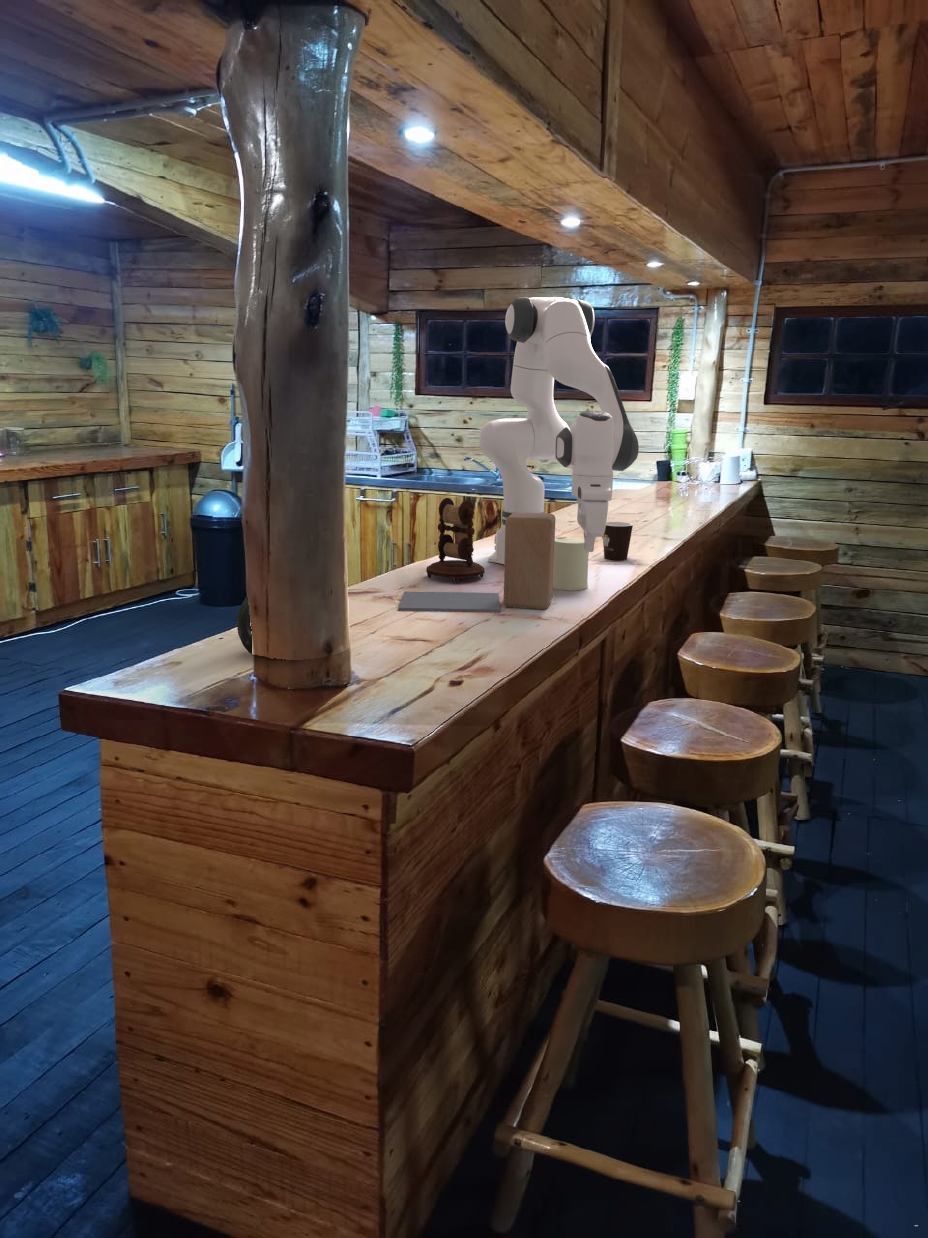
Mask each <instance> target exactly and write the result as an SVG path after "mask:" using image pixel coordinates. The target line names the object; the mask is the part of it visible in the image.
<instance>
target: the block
mask: <svg viewBox="0 0 928 1238" xmlns="http://www.w3.org/2000/svg"><path fill="white" fill-rule="evenodd" d="M555 538H556V516H555V514H553V513H547V512H545V513H522V512H515V513H512V514H511V515H510V516H509V517H508V518H507V519H506V522H505V560H504V564H503V565H504V566H503V567H504V569H503V570H504V571H503V600H502V601H503V605H504V606H505V607H506V608H513V609H514V608H515V609H531V610H546V609H548V608H549V606H550V603H551V601H552V599H553V592H554V591H553V589H554V588H553V570H554V545H555Z"/></svg>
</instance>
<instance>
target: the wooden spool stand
mask: <svg viewBox="0 0 928 1238" xmlns="http://www.w3.org/2000/svg"><path fill="white" fill-rule="evenodd" d="M474 507H475V506H474V504H473V503H472V501H471V500H463V501H462V502H461V503H460V505H455V503H454V501H453V500H452V499H451V498H450V497H445V498H443V499H442V500H441V501H440V502H439V506H438V515H439V523H438V525H437V530H438V532H439V536H438V539H439V541H438V544H437V548H438V549H437V550H438V552H439V553H438V559H439V560H438V561H435V562H432V563H431V564H430V565H427V566H426V571H425V572H426V575H427V577H428V579H430V578H431V577H432V576H433V577H437V578H442V579H454V580H453V581H454V583H455V584H456V585H457V584H458V583H459V580H460V579H469V578H476V577H479V578H481V579H482V578H484V574H485V567H484V566H483V565H481V564H480V563H477V562H476V561H474V559H473V555H474V554H473V552H474V550H475V548H474V541H473V540H474V538H473V537H474V535H475V532H476V531H475V528H474V527H473V526H474V522H473V519H474V518H475V517H474V515H475V508H474ZM447 524H449V525H447ZM450 524H451V525H452V526H451V525H450ZM445 532H452V533H453V534H454V538H453V537H452V536H451V535H450V534H447V533H446V534H445ZM446 557H447V558H453V559H449V560H448V559H446Z"/></svg>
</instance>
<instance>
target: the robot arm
mask: <svg viewBox="0 0 928 1238" xmlns="http://www.w3.org/2000/svg"><path fill="white" fill-rule="evenodd" d="M504 320H505V321H504V322H505V329H506V333H507V335H508V337H509V338H510V339H511V340H513V341H514V342H516V345H515V350H514V356H513V363H512V371H511V382H510V393H511V397H512V398H513V400H515V401H516V402H517V403H518V404H519V405H522V406H523V407H525V408H526V411H527V414H526V415H527V416H526V417H524V418H522V417H521V418H514V417H513V418H512V417H511V418H505V417H504V418H499V419H493V420H490V421H486V423H485V424H484V425H483V426H482V428H481V430H480V433H479V439H478V441H479V447H480V449H481V451H482V453H483V454H484V455H485V457H487V459H489V460H491V462H492V463H493V464H494V466H495V467H496V468H497V470H498V472H499V475H500V477H501V480H502V481H501V482H502V487H503V489H502V490H503V510H502V511H501V524H502V525H501V527H500V528H499V529H498V530H497V531H496V532H495V533H496V534H495V535H494V540H493V543H494V544H495V545H494V552H493V553H492V554H491V555H490V556H489V557H488V558H487V559H488V560H487V562H490V563H498V564H501V565H504V560H505V522H506V519H507V518H508V517H509V516H510V515H511V514H512V513H515V512H522V513H546V511H545V489H546V488H545V483H544V481H543V480H542V478H541V477H539V476H537V475H536V474H534V473H532V472H531V471H529V468H528V466H527V461H533V460H535V461H537V460H541V461H543V460H552V459H555V460H557V461H558V462H559V464H560V465H561V466H562V467H564V468H567V469H572V473H571V490H570V491H571V492H570V495H571V497H576V504H577V517H576V520H577V524H578V525H579V527H580V528H581V529H582V530H583V538H584V549H585V550H586V551H587V552H589V553H592V552H594V551H595V542H596V538H602V536H603V535H604V532H605V528H606V522H608V521H607V520H608V511H609V502H611V501H612V497H613V485H614V471H616V472H617V471H618V472H624V471H626V470H627V469H628V468H629V467H631V466H632V465H633V464H634V463H635V461H636V460H637V459H638V456H639V451H640V450H639V440H638V436H637V434H636V433H635V430H634V429H633V427H632V425H631V423H630V421H629V418H628V415H627V413H626V410H625V406H624V403H623V400H622V398H621V395H620V391H619V389H618V387H617V384H616V381H615V378H614V375H613V373H612V371H611V369H610V368H609V366H608V365H607V364H606V363H604V362H603V361H601V359H600V358H599V357H598V355H597V354H596V352H595V351H594V349H593V346H592V343H591V337H592V334H593V332H594V329H595V328H594V327H595V311H594V308H593V307H592V305H591V303H590V302H587V301H584V300H582V299H581V300H580V299H578V298H577V299H571V298H565V297H560V296H559V297H557V296H551V297H528V296H523V297H522V296H521V297H517V298H514V299H512V301H510V302H509V304H508V307H507V310H506V314H505V319H504ZM555 380H556V381H557V382H559V383H560V384H562V385H564V386H567V387H570V388H573V389H577V390H578V391H582V392H584V393H586V394H588V395H589V396H591V397H592V398H593V399H595V400H596V401H597V404H598V405H599V408H600V411H599V410H584V411H581V412H579V413H578V414H577V416H576V419H575V422H574V423H573V424H571V425H568V424H567V423H566V422H565V420H563V419H562V418H561V416H560V415H559V413H558V411H557V408H556V406H555V401H554V386H555V385H554V384H555Z"/></svg>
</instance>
